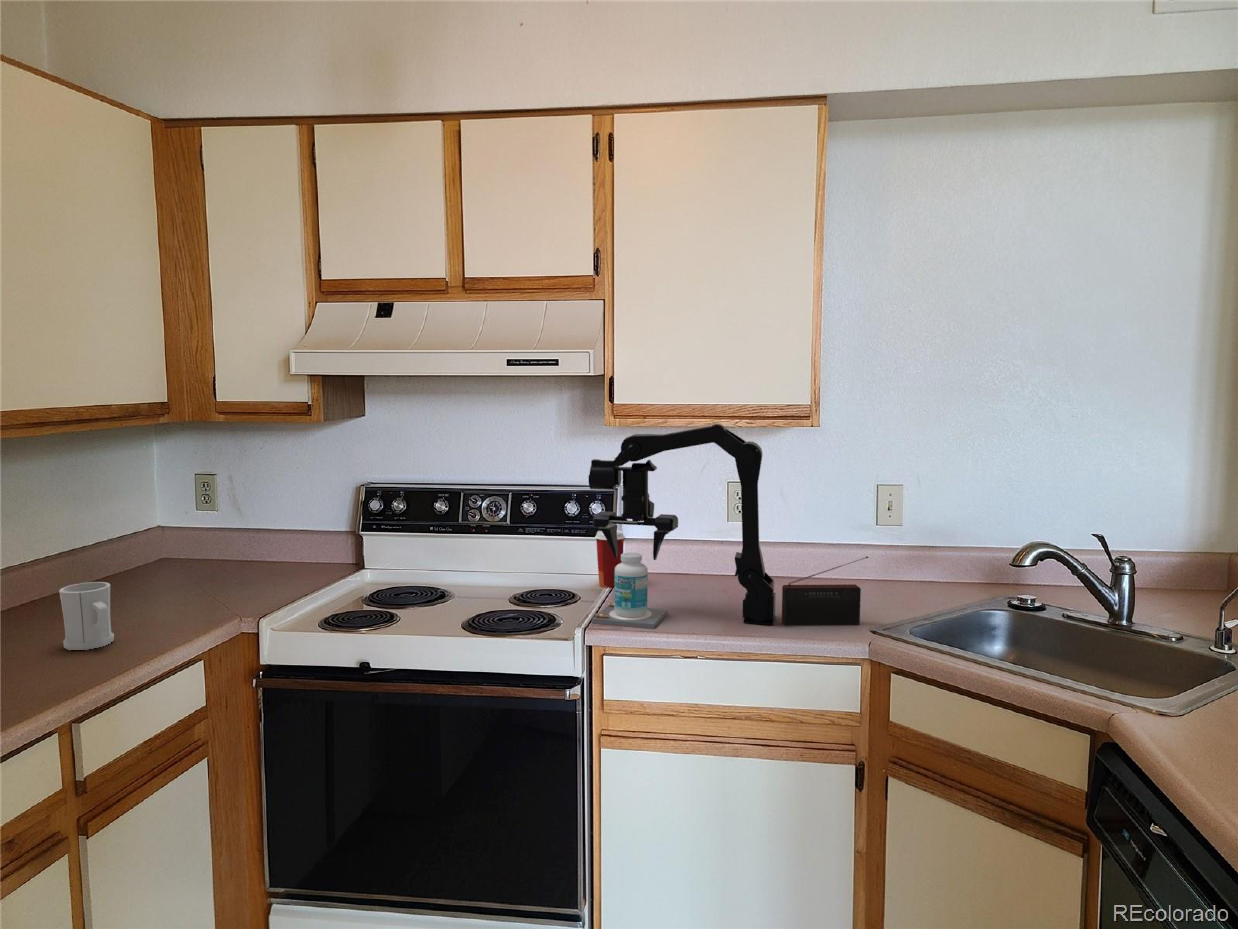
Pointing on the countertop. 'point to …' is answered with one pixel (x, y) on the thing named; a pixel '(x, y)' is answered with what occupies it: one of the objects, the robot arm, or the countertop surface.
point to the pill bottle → (631, 586)
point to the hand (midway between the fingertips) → (635, 558)
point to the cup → (86, 615)
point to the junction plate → (630, 618)
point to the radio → (821, 604)
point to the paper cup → (608, 559)
